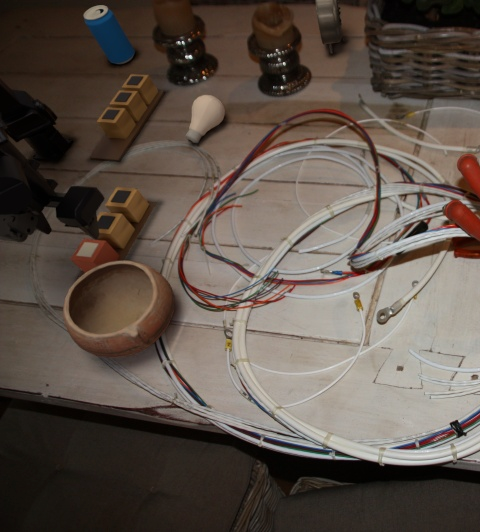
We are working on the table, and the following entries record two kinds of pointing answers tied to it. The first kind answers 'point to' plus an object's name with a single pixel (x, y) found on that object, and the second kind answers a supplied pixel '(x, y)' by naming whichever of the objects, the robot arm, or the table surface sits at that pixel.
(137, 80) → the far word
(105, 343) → the bowl
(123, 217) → the wooden block tray
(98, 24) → the beverage can
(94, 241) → the letter S
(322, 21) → the alarm clock
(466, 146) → the table surface
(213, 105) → the light bulb
